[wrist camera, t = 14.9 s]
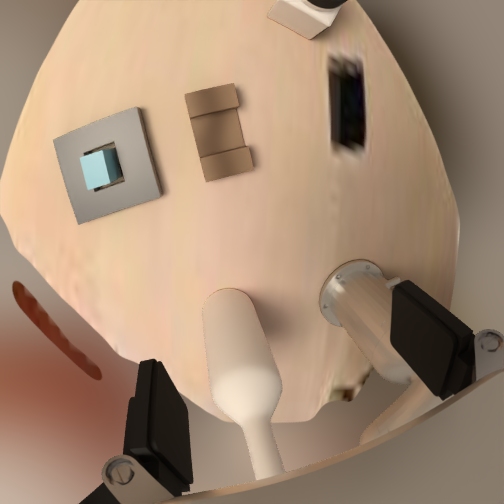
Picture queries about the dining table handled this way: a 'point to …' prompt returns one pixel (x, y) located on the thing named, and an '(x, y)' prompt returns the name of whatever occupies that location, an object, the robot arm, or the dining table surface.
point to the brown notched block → (218, 132)
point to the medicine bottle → (305, 15)
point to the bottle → (243, 374)
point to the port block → (130, 157)
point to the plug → (100, 168)
